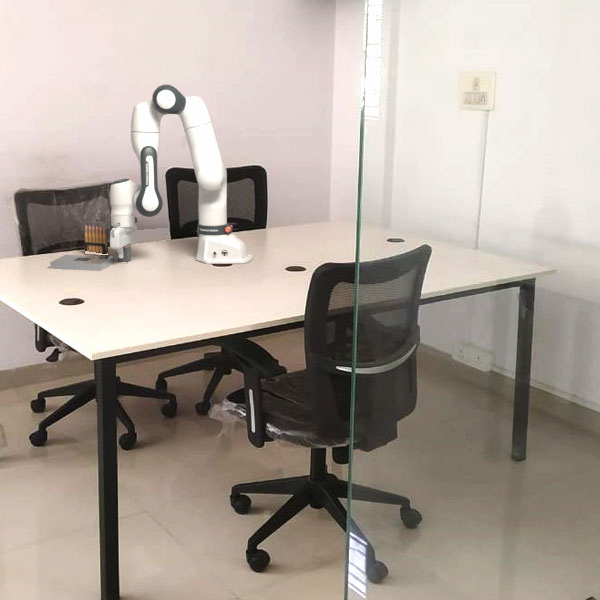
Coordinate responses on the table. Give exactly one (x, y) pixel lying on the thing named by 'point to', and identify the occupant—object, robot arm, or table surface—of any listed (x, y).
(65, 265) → the socket plate
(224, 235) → the robot arm
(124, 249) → the plug
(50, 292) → the table surface
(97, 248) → the ammunition clip
